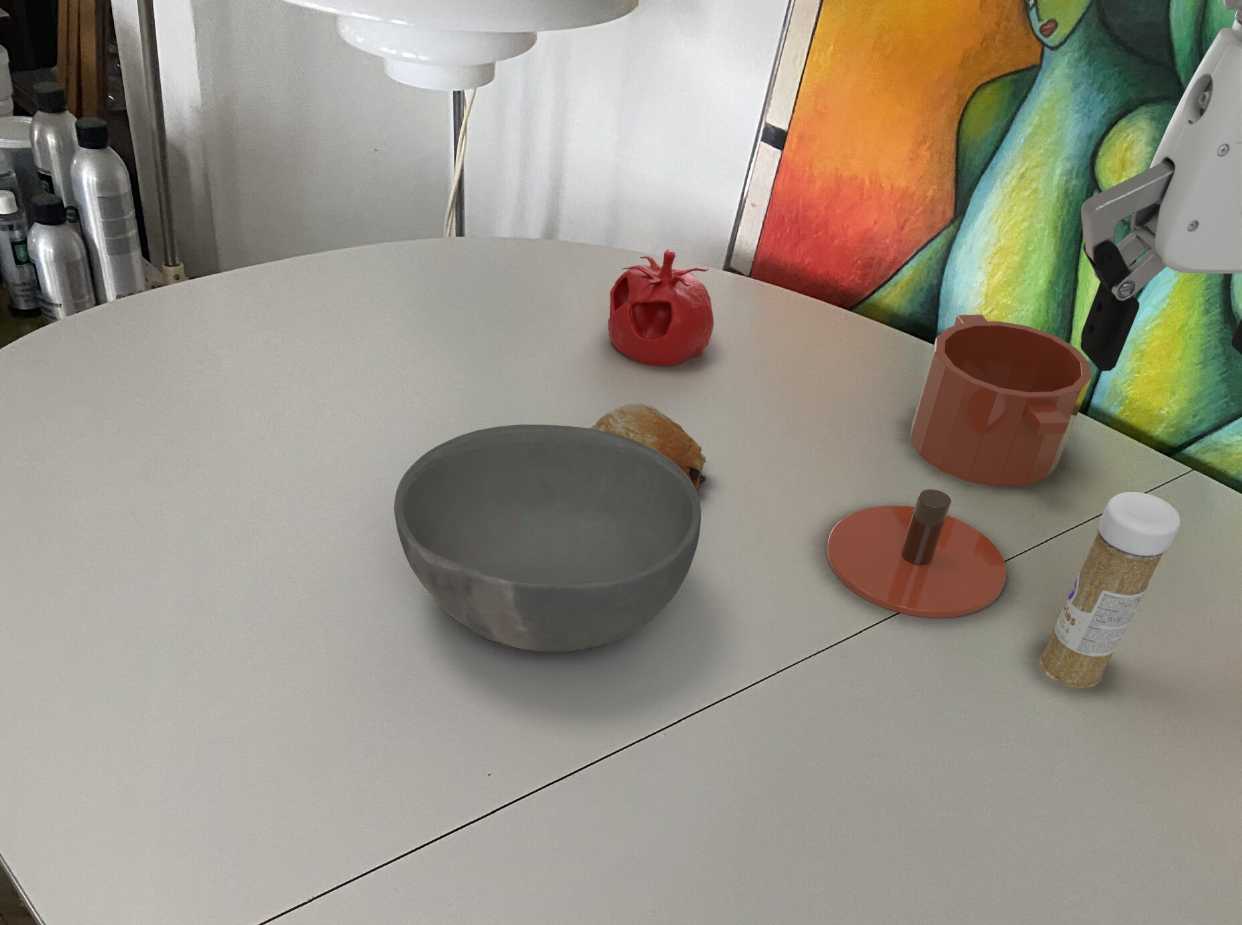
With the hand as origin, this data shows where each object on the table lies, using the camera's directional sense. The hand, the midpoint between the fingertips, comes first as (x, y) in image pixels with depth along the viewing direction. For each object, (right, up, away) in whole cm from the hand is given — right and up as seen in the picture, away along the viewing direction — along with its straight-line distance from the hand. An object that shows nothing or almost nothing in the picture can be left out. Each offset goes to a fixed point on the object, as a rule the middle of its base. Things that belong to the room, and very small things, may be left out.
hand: (1172, 358), depth 70 cm
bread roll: (-30, +1, +28) cm, 41 cm away
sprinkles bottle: (0, -16, +16) cm, 23 cm away
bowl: (-37, -12, +16) cm, 42 cm away
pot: (0, +6, +35) cm, 36 cm away
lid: (-9, -6, +22) cm, 25 cm away
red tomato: (-28, +18, +43) cm, 54 cm away
